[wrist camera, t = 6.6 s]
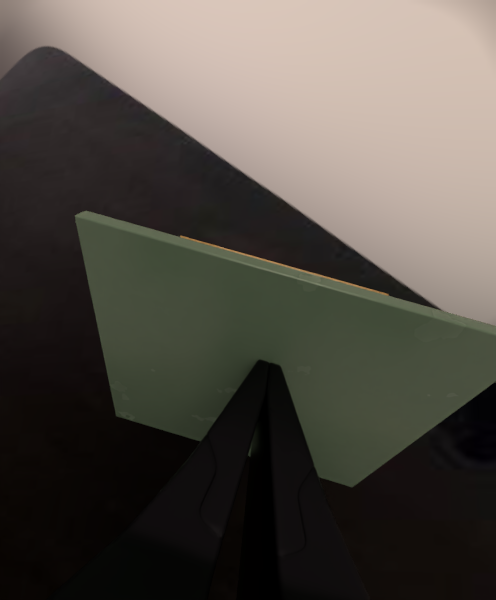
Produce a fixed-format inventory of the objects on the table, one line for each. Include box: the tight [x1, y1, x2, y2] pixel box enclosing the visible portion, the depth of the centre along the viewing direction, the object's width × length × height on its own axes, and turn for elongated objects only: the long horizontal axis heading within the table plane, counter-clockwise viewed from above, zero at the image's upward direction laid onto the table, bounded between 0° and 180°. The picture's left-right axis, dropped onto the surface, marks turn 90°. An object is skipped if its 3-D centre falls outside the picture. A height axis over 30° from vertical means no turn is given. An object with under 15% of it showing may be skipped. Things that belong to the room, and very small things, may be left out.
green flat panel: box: [75, 211, 496, 487], centre depth 11 cm, size 11×13×1 cm
